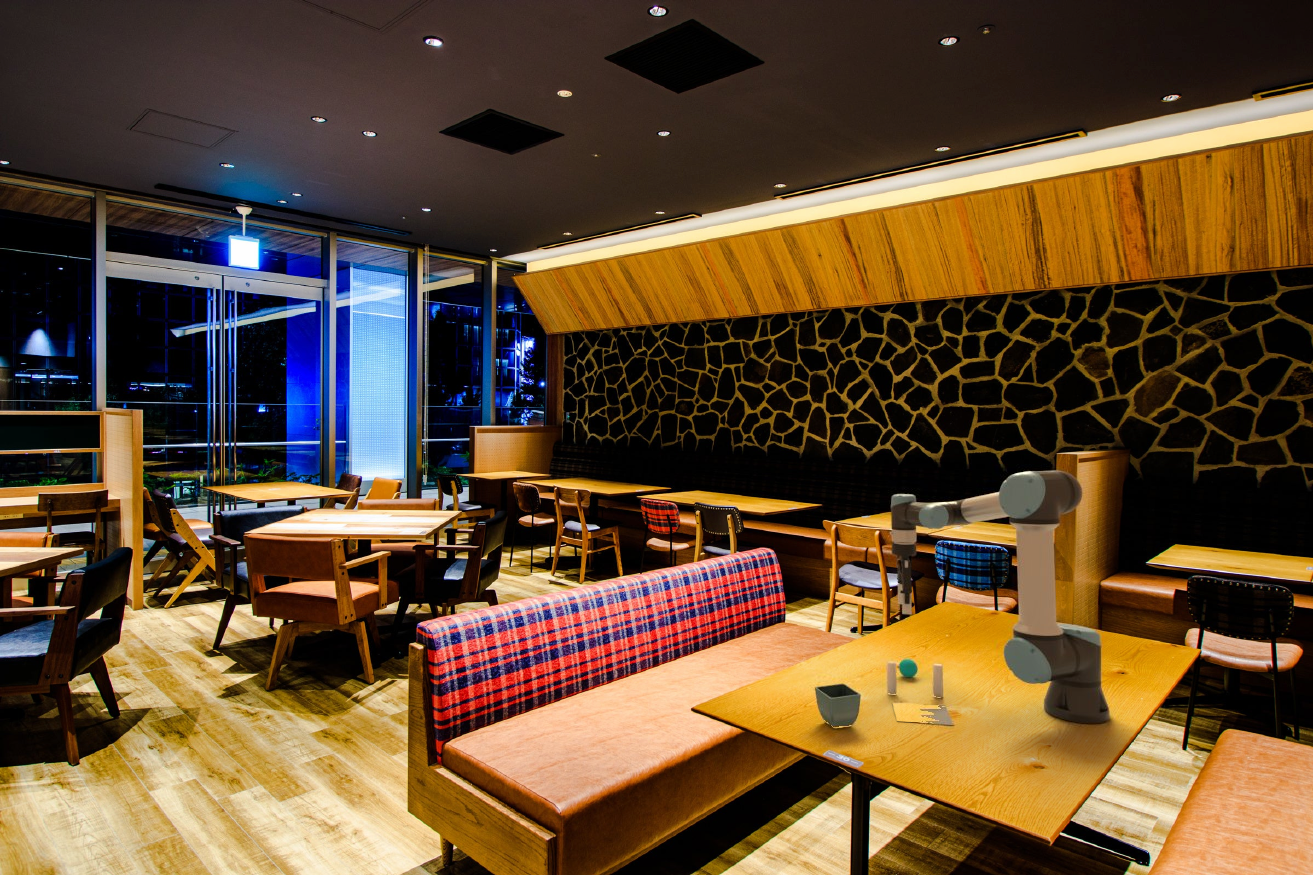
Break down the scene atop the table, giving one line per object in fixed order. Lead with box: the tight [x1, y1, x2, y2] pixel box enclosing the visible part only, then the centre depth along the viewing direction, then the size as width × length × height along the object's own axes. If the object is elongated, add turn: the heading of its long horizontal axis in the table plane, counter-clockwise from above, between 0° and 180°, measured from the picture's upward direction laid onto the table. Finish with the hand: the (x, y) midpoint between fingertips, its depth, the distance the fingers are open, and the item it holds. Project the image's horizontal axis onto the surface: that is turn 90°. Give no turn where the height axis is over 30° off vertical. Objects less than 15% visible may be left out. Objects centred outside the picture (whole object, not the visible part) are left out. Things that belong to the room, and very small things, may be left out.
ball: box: [898, 658, 918, 678], centre depth 222 cm, size 6×6×6 cm
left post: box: [886, 660, 898, 694], centre depth 208 cm, size 3×3×9 cm
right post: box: [932, 663, 944, 698], centre depth 205 cm, size 3×3×9 cm
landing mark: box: [920, 704, 955, 727], centre depth 193 cm, size 14×14×1 cm
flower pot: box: [814, 683, 862, 727], centre depth 186 cm, size 9×9×9 cm
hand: (904, 608), depth 232 cm, fingers open, 13 cm apart
